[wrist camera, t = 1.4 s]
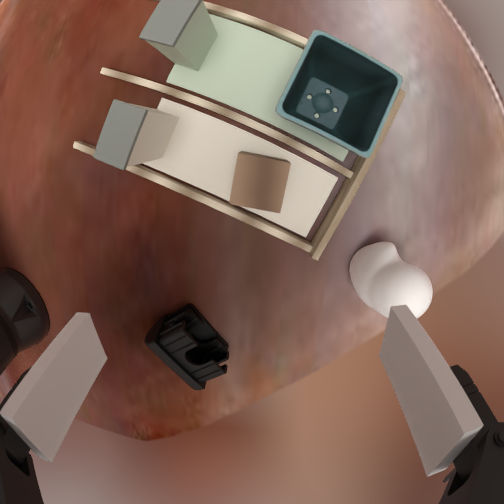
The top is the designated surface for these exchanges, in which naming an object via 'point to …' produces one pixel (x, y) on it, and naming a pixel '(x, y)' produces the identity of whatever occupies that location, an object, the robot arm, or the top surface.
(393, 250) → the figurine
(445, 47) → the top surface
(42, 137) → the top surface
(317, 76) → the flower pot
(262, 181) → the walnut block
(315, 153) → the lane frame
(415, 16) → the top surface
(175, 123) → the cream strip
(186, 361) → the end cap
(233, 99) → the sage strip
